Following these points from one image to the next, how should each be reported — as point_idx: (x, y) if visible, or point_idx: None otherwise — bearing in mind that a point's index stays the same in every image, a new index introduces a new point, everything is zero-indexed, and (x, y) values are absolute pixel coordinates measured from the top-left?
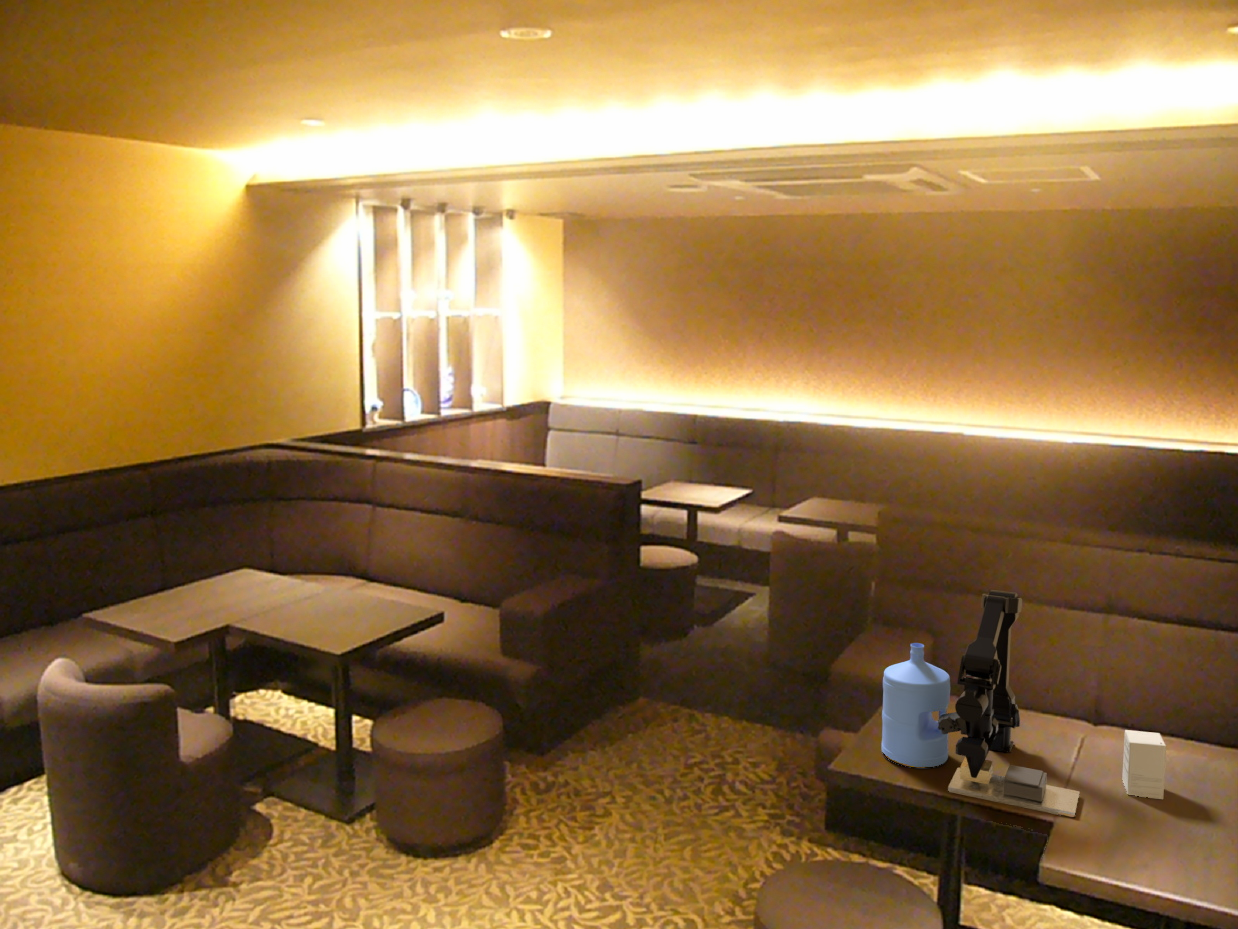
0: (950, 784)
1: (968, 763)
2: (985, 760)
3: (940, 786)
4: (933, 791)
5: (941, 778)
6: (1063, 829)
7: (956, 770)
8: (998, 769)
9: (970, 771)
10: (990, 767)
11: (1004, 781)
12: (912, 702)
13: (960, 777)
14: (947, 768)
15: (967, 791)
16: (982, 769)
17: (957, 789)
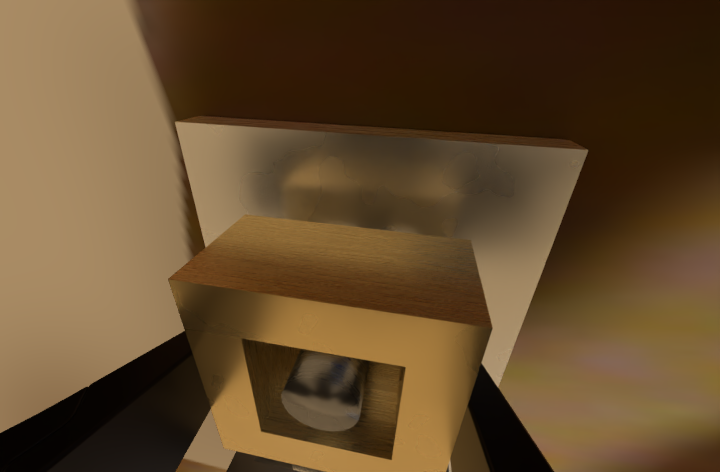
0: (219, 133)
1: (68, 404)
2: (428, 464)
3: (250, 42)
4: (139, 3)
5: (401, 17)
6: (198, 465)
7: (512, 146)
8: (668, 374)
9: (177, 340)
10: (307, 466)
11: (230, 464)
12: None
13: (241, 221)
14: (661, 29)
15: (206, 243)
16: (232, 424)
17: (195, 185)
